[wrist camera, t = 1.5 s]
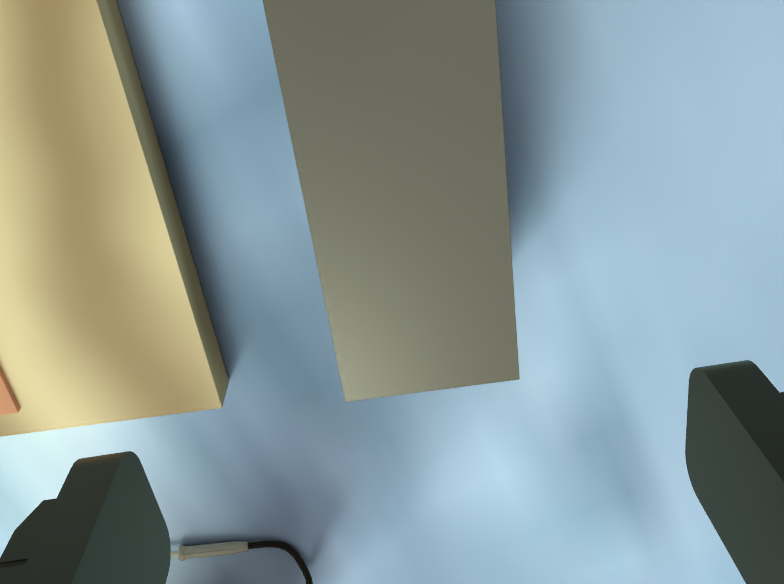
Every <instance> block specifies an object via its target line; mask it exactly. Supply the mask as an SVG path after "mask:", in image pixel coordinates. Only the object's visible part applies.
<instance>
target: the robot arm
mask: <svg viewBox="0 0 784 584" xmlns="http://www.w3.org/2000/svg"><path fill="white" fill-rule="evenodd" d="M685 455H686V464H687V470H688V474H689V478H690V481H691V484H692V487H693V489H694V491H695V494H696V496H697V498H698V499H699V501H700V503H701V505H702V506H703V508H704V510H705V512H706V513H707V515H708V517H709V519H710V521H711V522H712V524H713V526H714V528H715V529H716V531H717V533H718V535H719V536H720V538H721V540H722V542H723V544H724V545H725V547H726V549H727V551H728V552H729V554H730V556H731V558H732V559H733V561H734V563H735V565H736V567H737V568H738V570H739V572H740V574H741V575H742V577H743V579H744V581H745V582H746V584H784V392H781V393H779V391H778V390H777V389H776V388H775V387H774V386H773V384H772V383H771V382H770V381H769V380H768V378H767V377H766V376H765V375H764V374H763V372H762V371H761V370H760V369H759V368H758V367H757V366H756V365H755V364H754V363H753V362H752V361H749V360H745V361H739V362H732V363H725V364H719V365H712V366H705V367H699V368H694V369H693V370H692V372H691V374H690V378H689V391H688V410H687V428H686V447H685ZM170 557H171V549H170V538H169V533H168V529H167V526H166V523H165V520H164V518H163V515H162V513H161V511H160V508H159V506H158V503H157V501H156V498H155V496H154V493H153V491H152V489H151V486H150V484H149V481H148V479H147V476H146V474H145V471H144V469H143V467H142V464H141V462H140V460H139V458H138V457H137V455H136V454H135V453H133V452H131V451H128V452H122V453H115V454H108V455H102V456H95V457H88V458H82V459H78V460H77V461H76V462H75V463H74V464H73V466H72V468H71V470H70V472H69V474H68V476H67V478H66V480H65V482H64V484H63V486H62V488H61V490H60V493H59V495H58V497H57V499H50V500H43V501H42V502H41V503H40V505H39V506H38V507H37V508H36V509H35V510H34V511H33V512H32V513H31V514H30V515H29V516H28V517H27V518H26V519H25V520H24V521H23V522H22V523H21V524H20V525H19V526H18V527H17V528H16V530H15V531H14V533H13V535H12V536H11V538H10V540H9V542H8V544H7V546H6V548H5V550H4V552H3V554H2V556H1V558H0V584H165V583H166V579H167V576H168V572H169V567H170Z"/></svg>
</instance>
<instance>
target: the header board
mask: <svg viewBox="0 0 784 584" xmlns="http://www.w3.org/2000/svg"><path fill="white" fill-rule="evenodd" d="M228 383H229V379H228V376H227V373H226V369H225V366H224V362H223V359H222V356H221V352H220V349H219V346H218V342H217V339H216V335H215V332H214V329H213V325H212V322H211V319H210V315H209V312H208V308H207V305H206V302H205V298H204V295H203V292H202V288H201V285H200V281H199V278H198V275H197V271H196V268H195V264H194V261H193V258H192V254H191V251H190V248H189V244H188V241H187V237H186V234H185V231H184V227H183V224H182V221H181V217H180V214H179V210H178V207H177V204H176V200H175V197H174V194H173V190H172V187H171V183H170V180H169V177H168V173H167V170H166V167H165V163H164V160H163V156H162V153H161V150H160V146H159V143H158V139H157V136H156V133H155V129H154V126H153V123H152V119H151V116H150V112H149V109H148V106H147V102H146V99H145V96H144V92H143V89H142V85H141V82H140V79H139V75H138V72H137V69H136V65H135V62H134V58H133V55H132V52H131V48H130V45H129V41H128V38H127V35H126V31H125V28H124V25H123V21H122V18H121V14H120V11H119V8H118V4H117V1H116V0H0V436H8V435H16V434H24V433H31V432H39V431H47V430H54V429H62V428H70V427H78V426H85V425H93V424H101V423H108V422H116V421H124V420H132V419H139V418H147V417H155V416H162V415H170V414H178V413H186V412H193V411H201V410H209V409H216V408H222V406H223V402H224V398H225V395H226V391H227V387H228Z"/></svg>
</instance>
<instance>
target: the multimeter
mask: <svg viewBox="0 0 784 584" xmlns="http://www.w3.org/2000/svg"><path fill="white" fill-rule="evenodd" d="M264 547H275V548H280V549H283V550H285V551H287V552H288V553H289V554H290V555H291V556H292V557H293V558H294V559H295V561H296V562H297V564H298V565H299V567H300V569H301V570H302V572H303V575H304V577H305V580H306V584H313V583H312V577H311V575H310V573H309V570H308V568H307V566H306V564H305V563H304V561H303V559H302V558H301V556H300V555H299V554H298V552H297V551H296V550H295V549H294V548H293V547H291V546H290V545H288V544H286V543H283V542H279V541H259V542H244V541H233V542H223V543H214V544H204V545H194V546H184V545H180V547H179V551H171V557H172V556H179V559H180V561H184V560H185V559H188V558H198V557H208V556H217V555H227V554H236V553H240V552H243V551H247V550H249V549H253V548H264Z"/></svg>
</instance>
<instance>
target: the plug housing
mask: <svg viewBox="0 0 784 584" xmlns="http://www.w3.org/2000/svg"><path fill="white" fill-rule="evenodd" d="M263 4H264V9H265V14H266V19H267V24H268V29H269V33H270V38H271V43H272V48H273V53H274V58H275V63H276V67H277V72H278V77H279V82H280V87H281V92H282V96H283V101H284V106H285V111H286V116H287V121H288V125H289V130H290V135H291V140H292V145H293V150H294V155H295V159H296V164H297V169H298V174H299V179H300V184H301V188H302V193H303V198H304V203H305V208H306V213H307V218H308V222H309V227H310V232H311V237H312V242H313V247H314V251H315V256H316V261H317V266H318V271H319V276H320V280H321V285H322V290H323V295H324V300H325V305H326V310H327V314H328V319H329V324H330V329H331V334H332V339H333V343H334V348H335V353H336V358H337V363H338V368H339V373H340V377H341V382H342V387H343V392H344V397H345V402H347V401H355V400H363V399H371V398H378V397H386V396H394V395H402V394H409V393H417V392H425V391H433V390H440V389H448V388H456V387H464V386H471V385H479V384H487V383H495V382H502V381H510V380H518V379H519V364H518V348H517V332H516V317H515V301H514V286H513V270H512V255H511V239H510V223H509V208H508V192H507V177H506V161H505V145H504V130H503V114H502V99H501V83H500V68H499V52H498V36H497V21H496V5H495V0H263Z"/></svg>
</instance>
